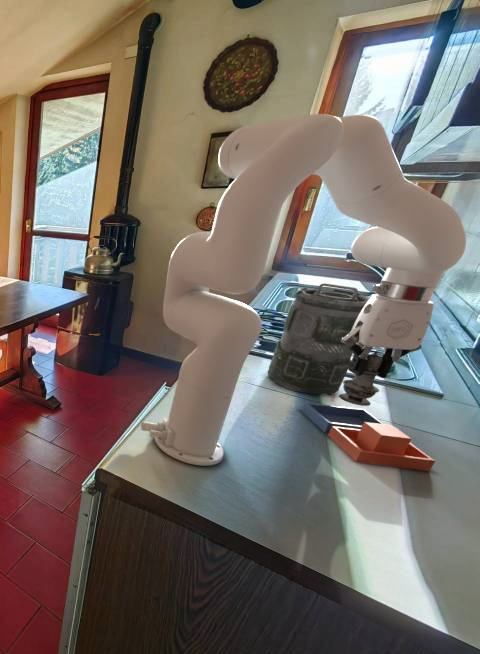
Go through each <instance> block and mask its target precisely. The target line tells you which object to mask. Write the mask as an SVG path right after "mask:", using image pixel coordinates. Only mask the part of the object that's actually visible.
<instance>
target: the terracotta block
mask: <svg viewBox="0 0 480 654" xmlns="http://www.w3.org/2000/svg"><path fill="white" fill-rule="evenodd" d="M411 441H412V438H411V437H410V436H408V435H407V434H405V433H404V432H402V431H401V430H400V429H399V428H397V427H396V426H394V425H392V424H385V423H384V424H378V423H369V422H364V424H363V426H362V428H361V430H360V432H359V434H358V436H357V438H356V440H355V442H356V443H357V444H358V445H359V446H361V447H362V448H363V449H364V450H365V451H373V452H380V453H388V454H396V455H403V454H404V452H405V450H406V448H407V447H408V445H409V443H411Z"/></svg>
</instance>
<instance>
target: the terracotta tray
mask: <svg viewBox="0 0 480 654" xmlns="http://www.w3.org/2000/svg"><path fill="white" fill-rule="evenodd" d="M360 430H361V429H352V428H344V427H335V426H332V428H331V430H330V432H329V433H327V436H328V437H329V439H331V440H332V441H333V442H334V443H335V444H336V445H337V446H338V447H339V448H341V449H342V450H343V451H344V452H345V453H346V454H347V455H348V456H349V457H350V458H351V459H352V460H353V461H355V462H357V463H363V464H370V465H379V466H387V467H392V468H393V467H394V468H401V469H410V470H415V471H424V472H430V471H431V469H432V468H433V467H434V464H435V463H436V460H435V459H434V458H432V457H431V456H429V455H428V454H427V453H425V452H424V451H422V450H421V449H420V448H419V447H417V446H416V445H414V444H413V443H412V442H410V443H409V445H408V447H407V448H406V450H405V452H404V454H403V455H396V454H388V453H380V452H373V451H365V450H364V449H363V448H362V447H361V446H359V445H358V444H357V443H356V442H355V440H356V438H357V436H358V434H359V432H360Z"/></svg>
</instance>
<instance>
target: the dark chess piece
mask: <svg viewBox="0 0 480 654" xmlns="http://www.w3.org/2000/svg"><path fill="white" fill-rule="evenodd" d="M378 354H379V352H378V350H376V351H374V352H373V353H369V354H368V356H367V357H366V359H368V363H367V365H366V367H365V369H364V372H363V374H362V375H361V376H357V375H355V374H354V376H353V377H352V379H344V380H343V382H342V384H343V385H342V387H343V391H344V393H339V394H338V398H340V400H342V401H344V402H347V403H349V404H352V405H354V406H355V405H357V406H361V407H369V406H371V404H372V403H371V401H369V400H368V399H371V398H372V397H374V396H376V394H377V393H379V392H380V389H379V388H378V387H377V386H374V381H375V378H376V376H377V375H376V374H379V372H378V369H379V367H380V365H381V363H382V360H383V359H382V358H381V357H380V356H381V355H378Z"/></svg>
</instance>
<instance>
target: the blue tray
mask: <svg viewBox="0 0 480 654" xmlns="http://www.w3.org/2000/svg"><path fill="white" fill-rule="evenodd" d="M301 412H302V414H304V415H305V416H306V417H307V418H308V419H309V420H311V422H312V423H314V424H315V425H316V426H317V427H318V428H319V429H320V430H321V431H322V432H323V433H325V434H329V432H330V430H331V428H332V426H335V427H344V428H352V429H361V428H362V426H363V424H364V422H369V423H378V424H385V423H384V422H382V421H381V420H380V419H379V418H377V417H376V416H374V415H373V414H372V413H370V412H369V411H367V410H366V409H365V408H357V407H347V406H338V405H329V404H320V403H313V402H311V403H310V402H305V403H304V406H303V408H302V410H301Z"/></svg>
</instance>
